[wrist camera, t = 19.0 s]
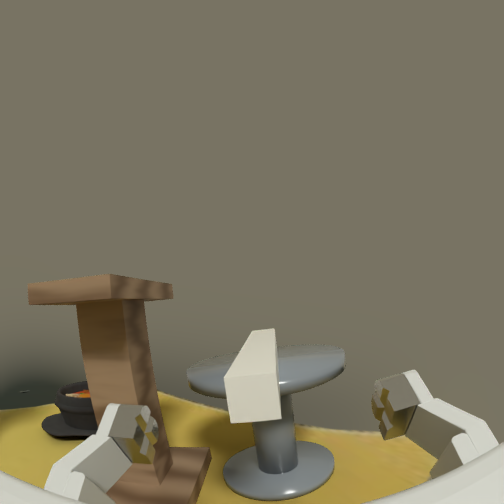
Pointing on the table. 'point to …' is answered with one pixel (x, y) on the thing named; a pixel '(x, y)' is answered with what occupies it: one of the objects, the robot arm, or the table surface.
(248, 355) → the bar
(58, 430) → the casserole
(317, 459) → the cake stand
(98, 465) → the robot arm
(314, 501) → the table surface
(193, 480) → the walnut stand
